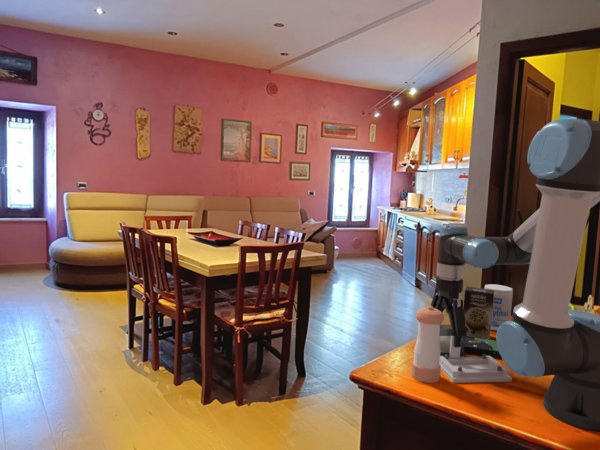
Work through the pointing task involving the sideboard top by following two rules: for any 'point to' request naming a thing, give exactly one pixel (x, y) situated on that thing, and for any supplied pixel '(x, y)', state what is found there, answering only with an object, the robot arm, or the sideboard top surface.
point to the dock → (474, 369)
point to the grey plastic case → (448, 340)
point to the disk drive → (481, 347)
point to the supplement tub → (500, 304)
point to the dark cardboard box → (478, 311)
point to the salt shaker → (427, 346)
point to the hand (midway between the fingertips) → (444, 347)
